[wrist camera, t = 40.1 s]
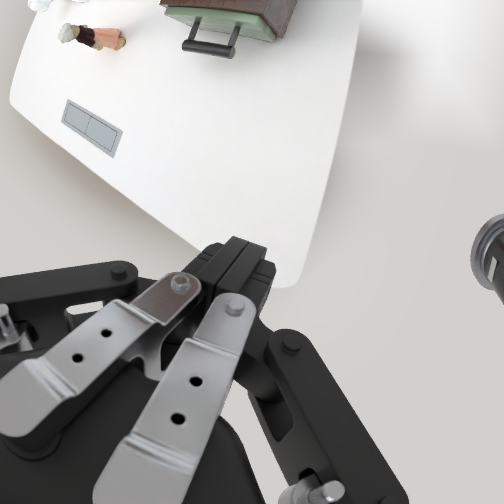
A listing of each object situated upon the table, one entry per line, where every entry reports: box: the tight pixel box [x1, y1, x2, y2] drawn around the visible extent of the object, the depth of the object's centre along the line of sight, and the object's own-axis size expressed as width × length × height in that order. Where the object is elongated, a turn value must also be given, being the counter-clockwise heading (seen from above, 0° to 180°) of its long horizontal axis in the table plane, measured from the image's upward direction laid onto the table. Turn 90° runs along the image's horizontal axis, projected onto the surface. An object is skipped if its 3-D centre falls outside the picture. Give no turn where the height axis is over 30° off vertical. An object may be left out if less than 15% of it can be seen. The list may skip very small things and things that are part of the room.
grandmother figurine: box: [58, 23, 125, 50], centre depth 28 cm, size 8×4×13 cm, turn 49°
